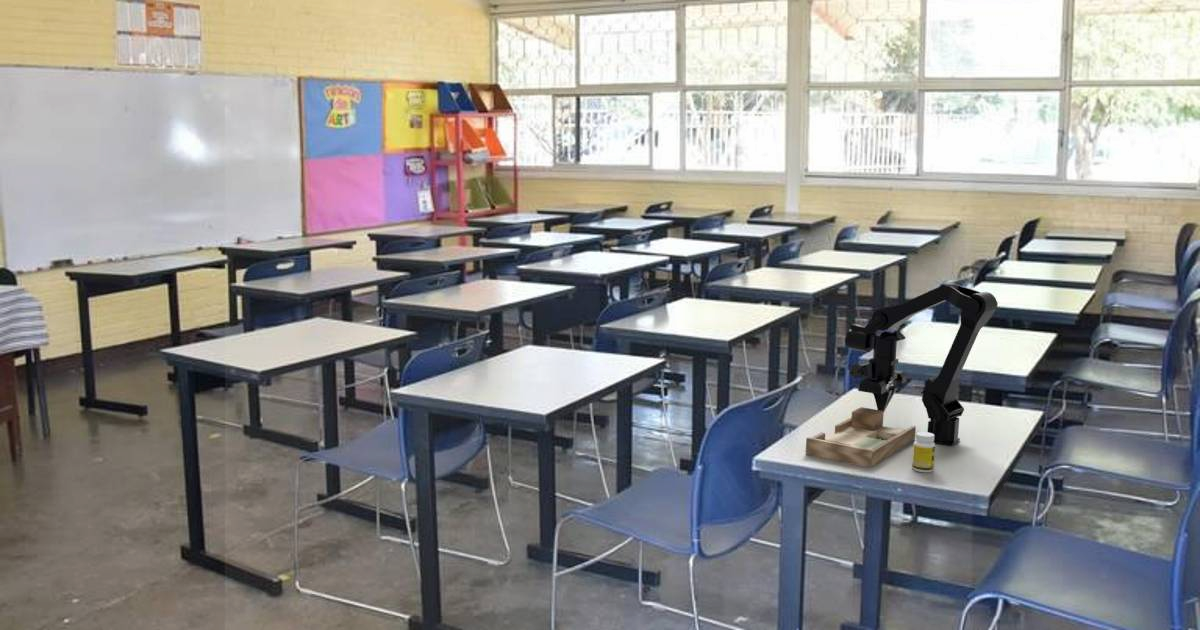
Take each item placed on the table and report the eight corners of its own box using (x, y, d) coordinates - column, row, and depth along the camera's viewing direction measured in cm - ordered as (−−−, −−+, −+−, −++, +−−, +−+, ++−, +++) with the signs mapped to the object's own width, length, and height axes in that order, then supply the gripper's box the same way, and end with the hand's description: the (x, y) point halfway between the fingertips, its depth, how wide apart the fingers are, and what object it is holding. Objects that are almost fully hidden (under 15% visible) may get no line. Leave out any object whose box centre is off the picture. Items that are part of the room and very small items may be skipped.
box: (914, 439, 260) (915, 424, 260) (869, 467, 237) (870, 450, 237) (854, 428, 270) (855, 413, 269) (805, 454, 247) (806, 437, 246)
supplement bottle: (934, 473, 234) (937, 437, 232) (912, 472, 235) (915, 436, 233) (932, 467, 238) (934, 432, 237) (910, 465, 239) (913, 430, 238)
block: (882, 426, 265) (883, 411, 264) (873, 431, 260) (874, 415, 259) (860, 422, 268) (861, 407, 268) (851, 427, 264) (851, 411, 263)
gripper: (869, 345, 281) (865, 401, 283) (840, 356, 266) (837, 415, 268) (909, 351, 274) (905, 408, 277) (882, 362, 259) (878, 422, 262)
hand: (880, 413), depth 271 cm, fingers closed
